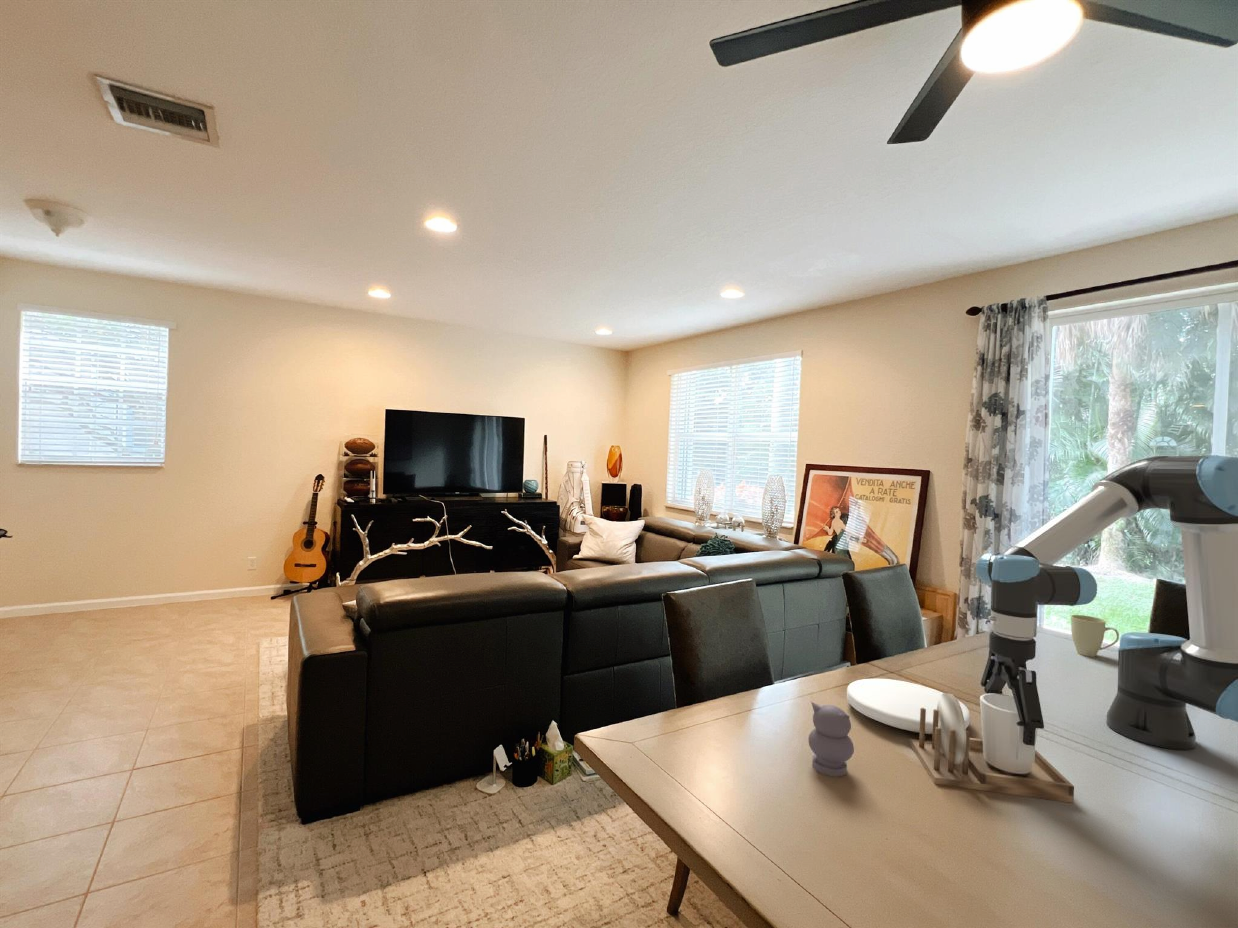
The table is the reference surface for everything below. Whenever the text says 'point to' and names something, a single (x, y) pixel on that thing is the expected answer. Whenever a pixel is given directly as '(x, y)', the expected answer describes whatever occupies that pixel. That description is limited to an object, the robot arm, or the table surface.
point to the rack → (979, 760)
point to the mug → (1089, 634)
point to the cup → (1001, 734)
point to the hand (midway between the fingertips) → (1007, 742)
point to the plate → (897, 703)
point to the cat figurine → (830, 740)
